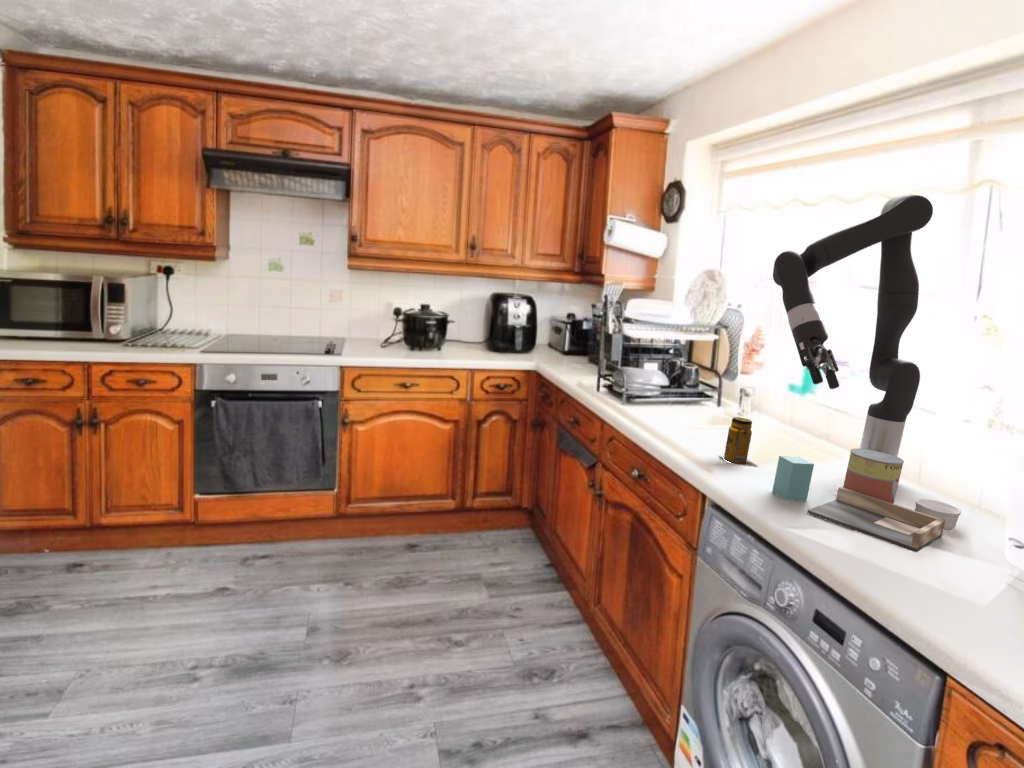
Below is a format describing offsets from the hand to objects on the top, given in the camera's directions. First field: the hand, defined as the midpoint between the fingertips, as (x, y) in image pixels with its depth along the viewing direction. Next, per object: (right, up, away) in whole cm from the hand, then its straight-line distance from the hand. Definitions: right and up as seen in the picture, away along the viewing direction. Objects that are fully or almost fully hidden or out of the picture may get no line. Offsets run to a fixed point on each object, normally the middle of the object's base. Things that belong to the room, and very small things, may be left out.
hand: (826, 385), depth 162 cm
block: (-10, -26, -3) cm, 28 cm away
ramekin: (+20, -31, -10) cm, 38 cm away
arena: (+2, -30, -16) cm, 34 cm away
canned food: (+9, -28, -1) cm, 30 cm away
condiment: (-14, -21, +23) cm, 34 cm away
